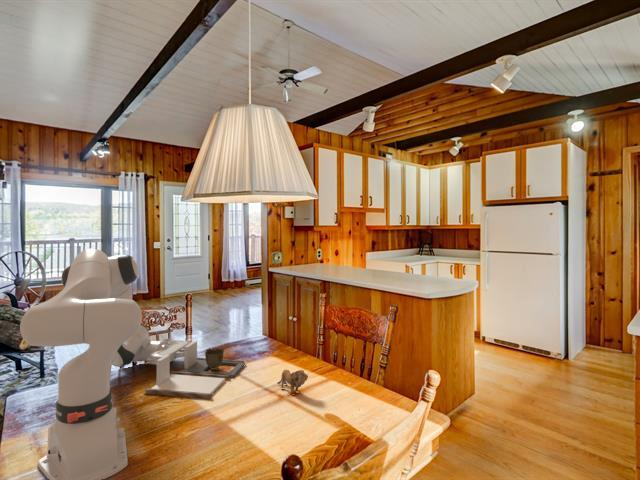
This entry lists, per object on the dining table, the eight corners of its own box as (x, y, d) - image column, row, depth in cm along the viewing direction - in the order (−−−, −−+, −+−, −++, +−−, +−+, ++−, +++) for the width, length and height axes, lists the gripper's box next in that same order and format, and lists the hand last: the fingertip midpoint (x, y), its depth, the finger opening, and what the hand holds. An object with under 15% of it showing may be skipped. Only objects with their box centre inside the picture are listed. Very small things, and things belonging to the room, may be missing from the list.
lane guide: (244, 364, 154) (244, 360, 154) (210, 399, 121) (210, 394, 121) (191, 360, 157) (191, 357, 157) (145, 393, 124) (145, 389, 124)
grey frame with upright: (245, 365, 152) (245, 342, 152) (233, 377, 139) (233, 352, 139) (196, 361, 155) (196, 339, 155) (180, 373, 142) (180, 349, 142)
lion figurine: (309, 395, 126) (310, 369, 126) (299, 400, 122) (299, 374, 122) (282, 382, 136) (282, 359, 136) (271, 386, 132) (271, 362, 132)
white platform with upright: (225, 380, 136) (225, 355, 136) (209, 396, 122) (209, 368, 122) (171, 376, 139) (171, 351, 138) (150, 391, 125) (150, 364, 125)
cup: (220, 373, 143) (220, 353, 143) (202, 372, 143) (202, 353, 143) (225, 366, 151) (225, 347, 151) (208, 366, 151) (208, 347, 151)
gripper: (142, 352, 140) (175, 354, 138) (171, 337, 160) (200, 339, 158) (142, 368, 140) (175, 370, 138) (171, 351, 160) (200, 353, 158)
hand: (188, 353), depth 148 cm, fingers closed, pressing on grey frame with upright
